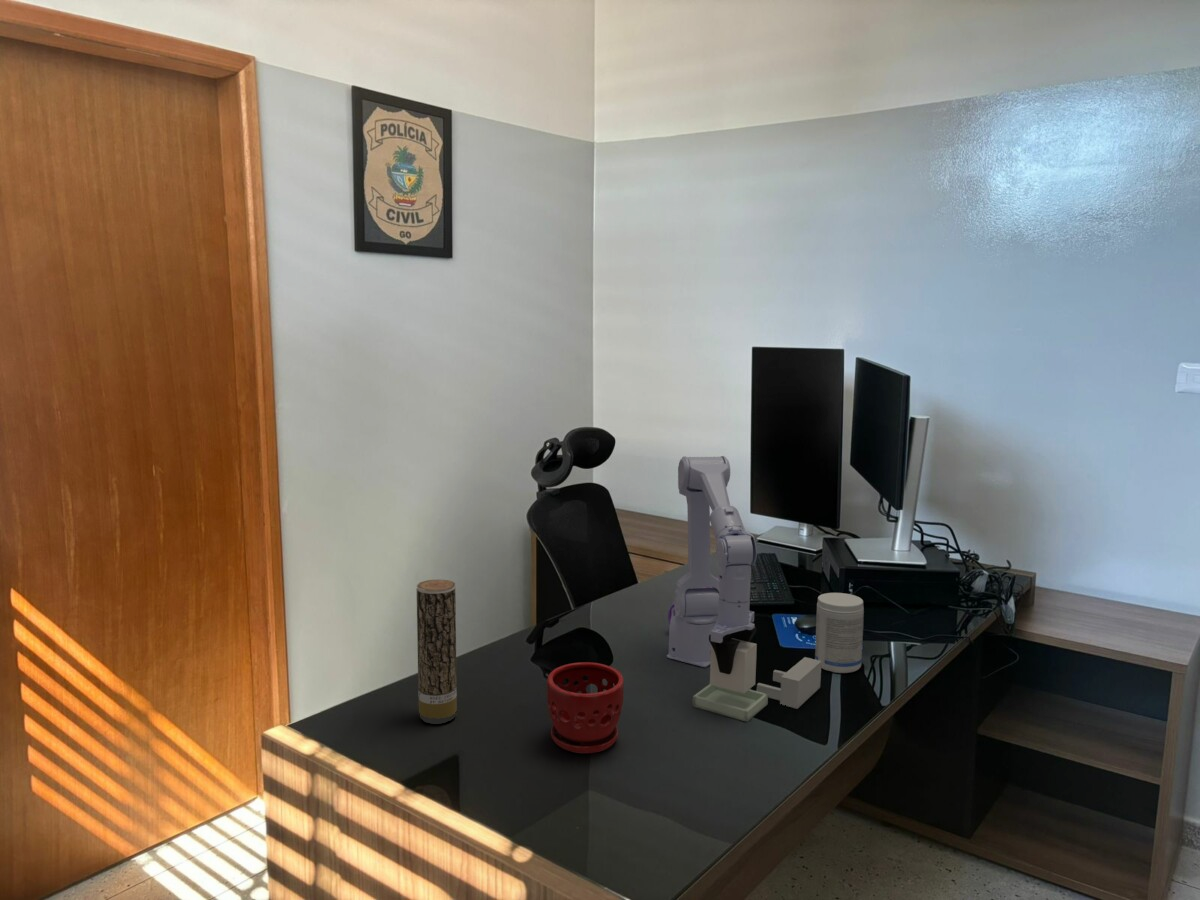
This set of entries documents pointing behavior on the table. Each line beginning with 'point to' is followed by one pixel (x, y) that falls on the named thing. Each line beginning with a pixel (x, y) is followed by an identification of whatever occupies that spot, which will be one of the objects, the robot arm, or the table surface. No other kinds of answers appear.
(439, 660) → the paper tube
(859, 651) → the supplement tub
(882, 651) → the table surface
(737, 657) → the taupe rectangular block
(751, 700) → the tray
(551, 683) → the plant pot
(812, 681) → the dock
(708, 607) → the robot arm
